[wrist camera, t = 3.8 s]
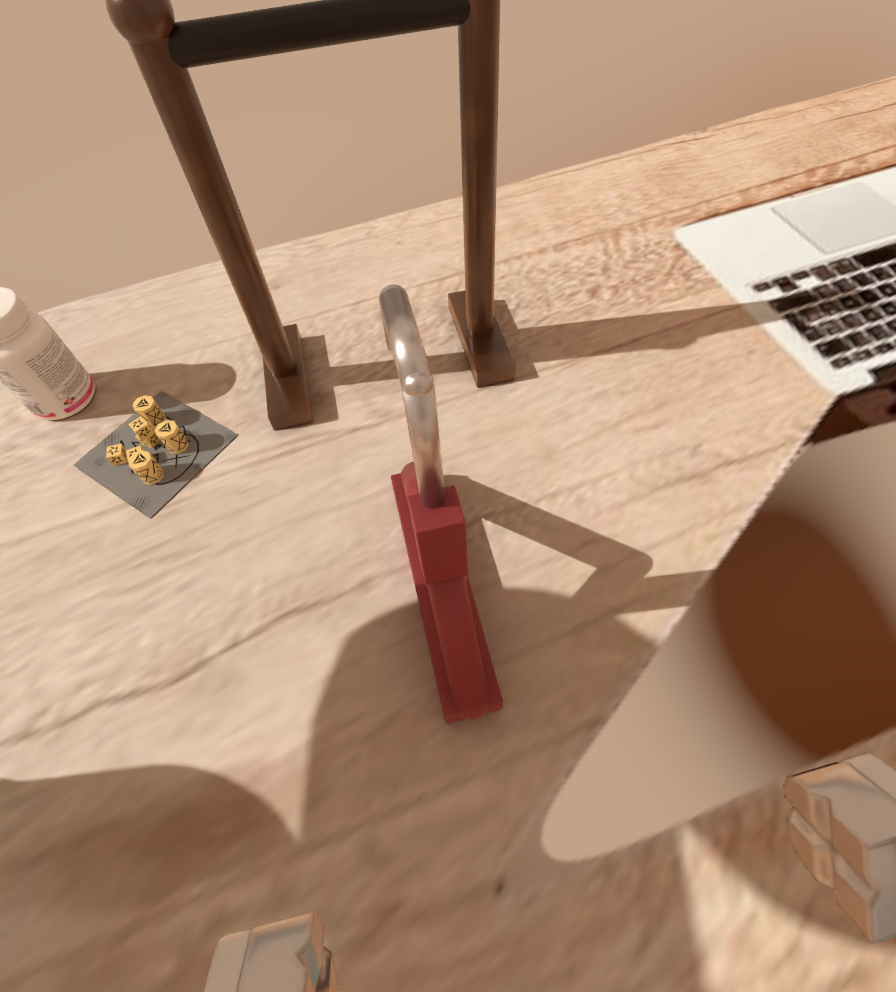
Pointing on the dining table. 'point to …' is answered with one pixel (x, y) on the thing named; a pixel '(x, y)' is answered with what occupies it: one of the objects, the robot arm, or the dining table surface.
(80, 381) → the pill bottle
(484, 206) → the rail
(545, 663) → the dining table surface
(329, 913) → the dining table surface
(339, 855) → the dining table surface
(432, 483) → the hanger
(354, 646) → the dining table surface
